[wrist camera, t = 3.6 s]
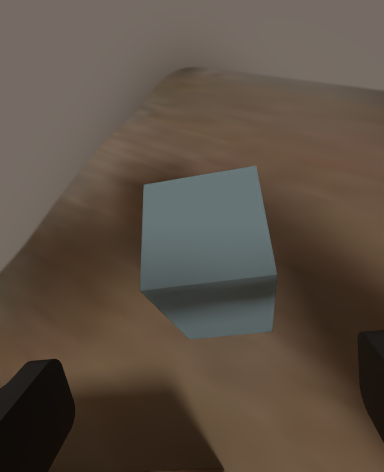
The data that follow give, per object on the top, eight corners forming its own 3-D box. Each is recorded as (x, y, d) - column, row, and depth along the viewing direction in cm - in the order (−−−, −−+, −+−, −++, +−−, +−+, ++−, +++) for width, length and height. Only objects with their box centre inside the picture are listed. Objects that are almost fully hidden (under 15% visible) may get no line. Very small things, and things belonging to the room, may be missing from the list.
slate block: (259, 255, 21) (255, 165, 13) (272, 331, 19) (277, 274, 11) (186, 264, 22) (143, 184, 14) (189, 339, 19) (139, 290, 12)
